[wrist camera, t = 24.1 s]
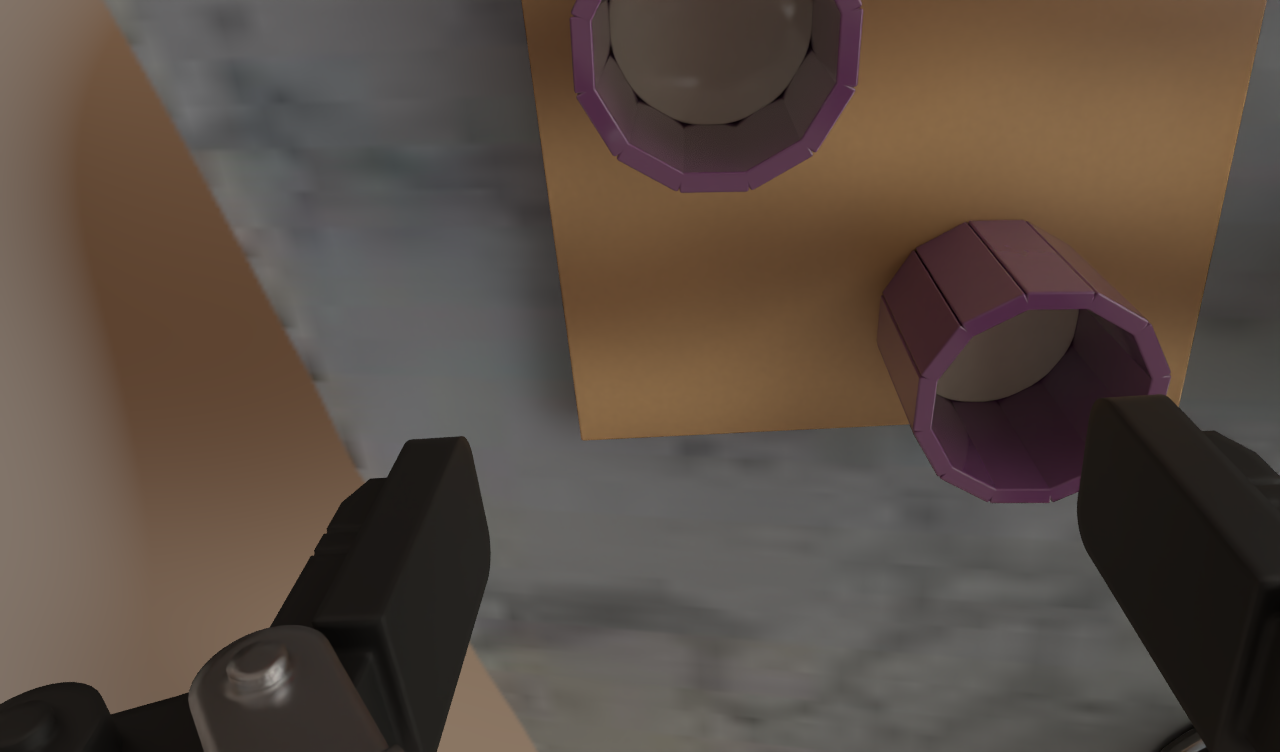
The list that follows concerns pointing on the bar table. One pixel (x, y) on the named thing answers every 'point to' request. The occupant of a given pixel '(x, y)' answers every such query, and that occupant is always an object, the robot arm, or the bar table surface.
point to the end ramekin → (1010, 357)
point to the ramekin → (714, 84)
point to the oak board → (892, 204)
